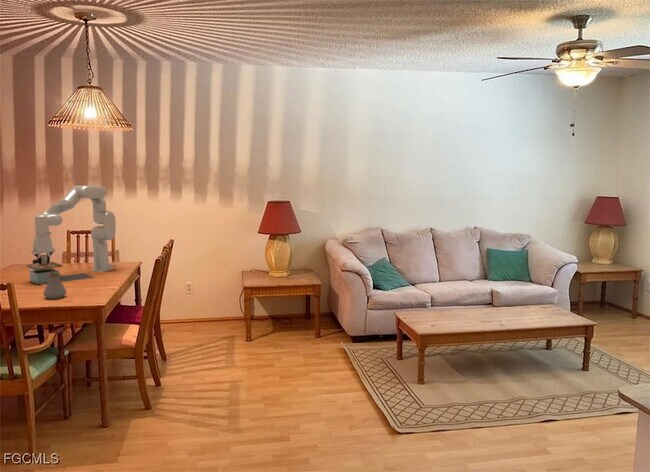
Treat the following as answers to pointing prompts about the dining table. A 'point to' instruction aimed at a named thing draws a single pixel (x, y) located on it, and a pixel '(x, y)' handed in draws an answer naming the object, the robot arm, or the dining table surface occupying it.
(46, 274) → the grey ceramic box
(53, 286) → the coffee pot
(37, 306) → the dining table surface
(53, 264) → the walnut lid
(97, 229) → the robot arm
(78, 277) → the rubber mat
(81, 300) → the dining table surface
